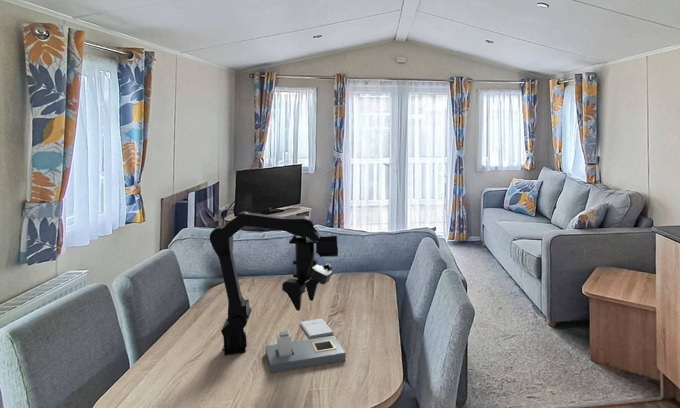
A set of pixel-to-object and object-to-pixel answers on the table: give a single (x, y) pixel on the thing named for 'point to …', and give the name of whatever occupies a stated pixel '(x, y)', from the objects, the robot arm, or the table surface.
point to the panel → (306, 354)
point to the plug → (284, 344)
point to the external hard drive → (316, 328)
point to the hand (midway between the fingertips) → (305, 305)
